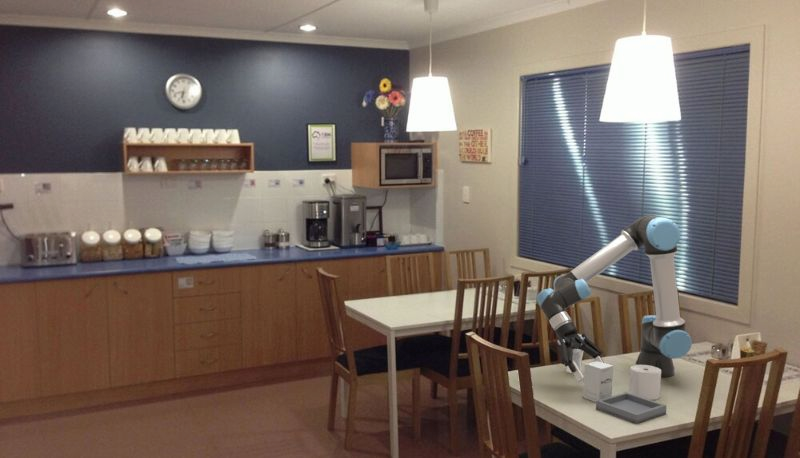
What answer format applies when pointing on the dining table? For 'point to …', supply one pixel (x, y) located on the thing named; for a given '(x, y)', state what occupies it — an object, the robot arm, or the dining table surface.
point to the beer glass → (576, 358)
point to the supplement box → (597, 381)
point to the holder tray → (631, 407)
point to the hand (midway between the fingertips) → (593, 376)
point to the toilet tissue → (645, 381)
